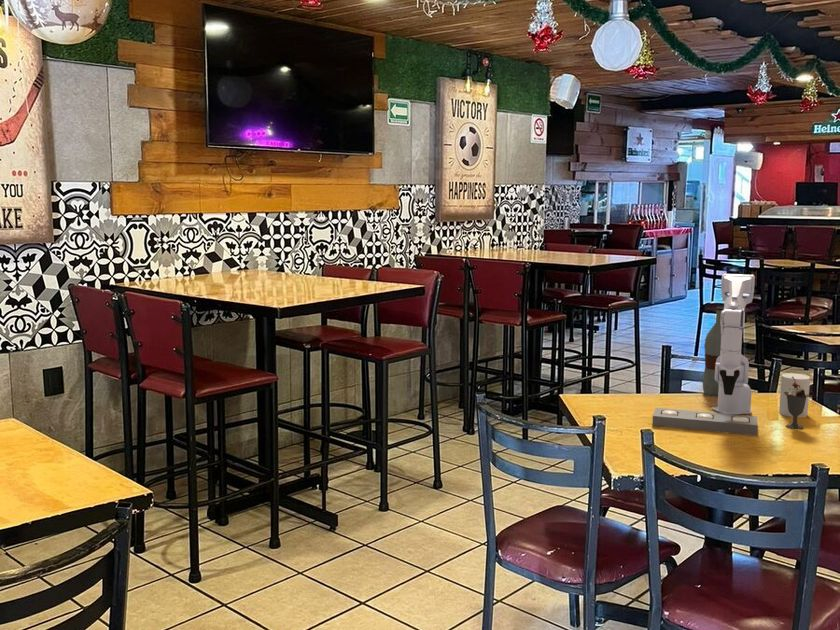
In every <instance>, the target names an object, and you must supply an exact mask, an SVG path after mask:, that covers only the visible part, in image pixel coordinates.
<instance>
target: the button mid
mask: <svg viewBox="0 0 840 630" xmlns="http://www.w3.org/2000/svg"><path fill="white" fill-rule="evenodd" d="M697 418H706V419H712V418H713V416H712V415H710V414H697Z"/></svg>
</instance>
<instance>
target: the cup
mask: <svg viewBox="0 0 840 630" xmlns="http://www.w3.org/2000/svg"><path fill="white" fill-rule="evenodd" d="M792 377H794V379H795V381H794V379H793V378H792ZM793 383H797V384H798V385H800V386H801V387H802V388H803V390H804V391H805V393H806V394H807V395H809V396H810V387H811V386H810V383H811V377H810V376H809V375H806V374H800V373H792V372H791V373H782V374H781V379H780V395H779V406H778V407H779V409H778V413H779V414H780V415H782V416H786V417H790V418H793V416H792V415H791V414H790V412H789V411H788V403H787V396H786V395H785V394H784V392H788V391H789V389H790V388H791V387H792V384H793ZM809 396H808V397H807V398H806V402H805V406H804V410H803V413H802V414H801V415H799V416H798V417H797V418H804V416H806V417H808V414H809V413H808V411H809V398H810V397H809Z"/></svg>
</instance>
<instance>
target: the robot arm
mask: <svg viewBox="0 0 840 630" xmlns="http://www.w3.org/2000/svg"><path fill="white" fill-rule="evenodd" d="M755 279H756V277H755V275H754V274H739V273H726V272H725V273H722V276H721V281H720V282H721V283H720V291H721V292H720V293H721V300H722V301H723V302H724V303H723V307H724V310H723V312H722V311H721V319H720V325H721V334H722V336H721V350H720V356H719V357H718V358H717V360H716V366H715V381H716V382H718V384H719V391H718V396H717V406H713V407H711V410H713V411H715V412H717V413H723V414H734V415H746V414H753V412H752V411H751V406H752V389H751V387H750V385H749V384H748V383H749V371H750V365H749V359H748V358H747V357H745V356H744V355H743V354H742V344H743V341H742V340H743V329H744V327H745V323H746V322H745V320H746V319H745V318H746V312H745V308H746V306H747V305H748V304H750V303H752V302H753V299H754V293H755V285H756V282H755V281H756V280H755ZM718 380H719V381H718Z"/></svg>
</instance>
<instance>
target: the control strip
mask: <svg viewBox="0 0 840 630" xmlns="http://www.w3.org/2000/svg"><path fill="white" fill-rule="evenodd" d="M667 410H668V411H675V412H677V416H673V415H662V411H667ZM653 411H654V412H653V415H652V427H665V428H672V427H673V428H674V429H685V430H696V431H705V432H706V431H707V432H714V433H725V432H726V433H727V432H728V434H736V433H738V435H746V434H747V436H748V435H749V436H758V429H759V428H758V427H759V426H758V425H759V424H758V423H759V422H758V418H757V417H758V416H755V415H746V414H735V415H734V414H723V413H720V412H712V411H711V412H710V411H700V410H699V411H698V410H688V409H687V410H686V409H677V408H676V409H675V408H674V409H673V408H665V407H664V408H663V407H655V409H654V410H653ZM697 414H710V415H712V416H713V418H712V419H706V418H697ZM733 417H745V418H748V419H749V422H740V421H733ZM673 428H672V429H673Z"/></svg>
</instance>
